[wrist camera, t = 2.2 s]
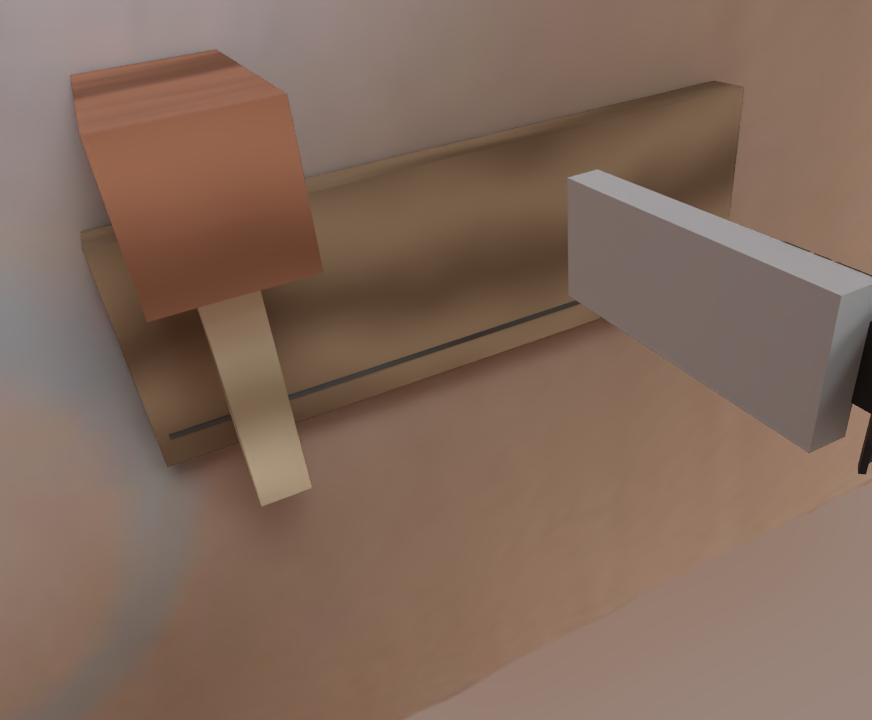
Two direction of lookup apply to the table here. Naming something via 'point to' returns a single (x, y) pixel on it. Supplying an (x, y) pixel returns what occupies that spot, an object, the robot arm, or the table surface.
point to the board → (426, 260)
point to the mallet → (209, 223)
